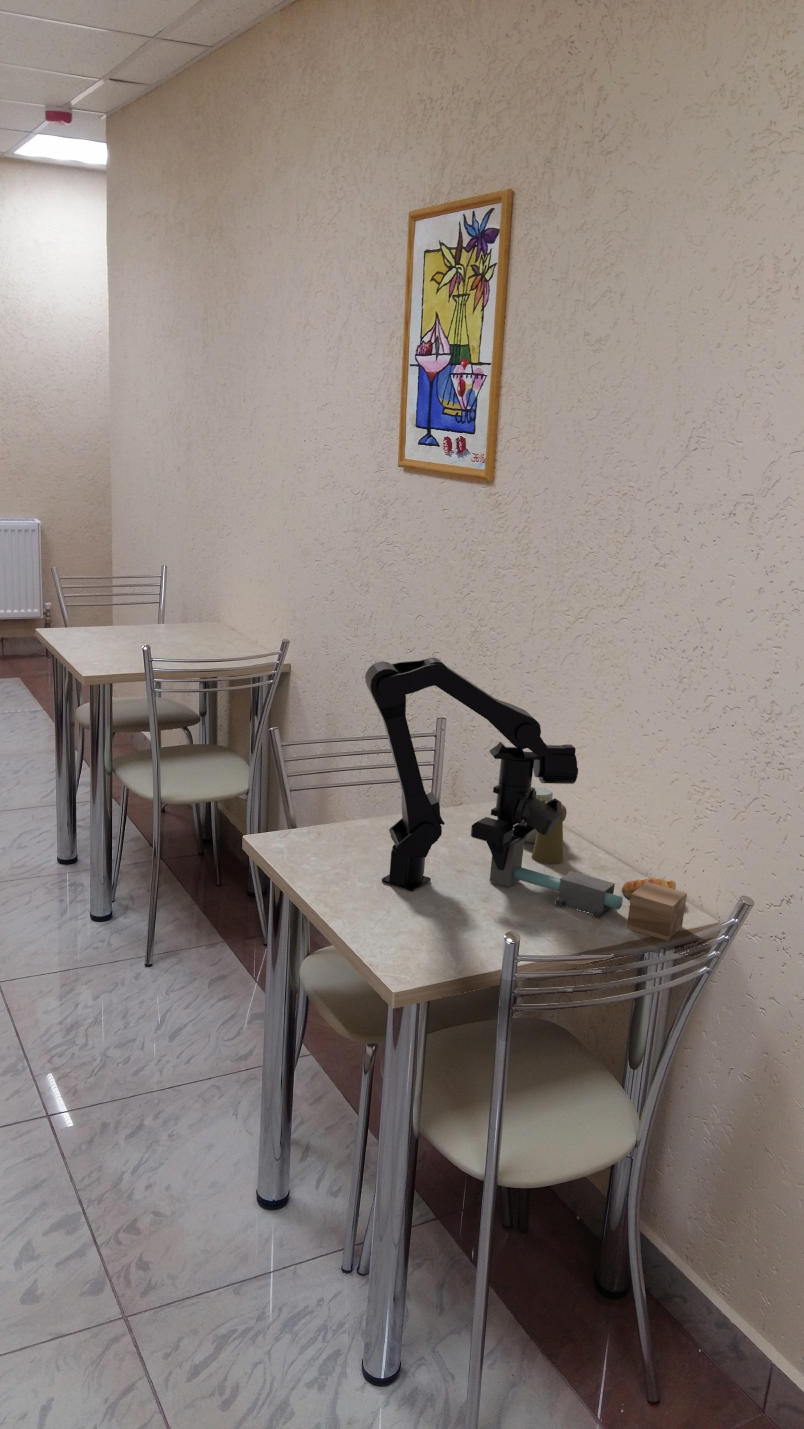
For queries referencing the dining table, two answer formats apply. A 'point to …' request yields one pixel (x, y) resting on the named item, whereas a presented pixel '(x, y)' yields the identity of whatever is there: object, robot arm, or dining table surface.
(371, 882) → the dining table surface
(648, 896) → the socket block
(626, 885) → the pastry
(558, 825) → the cork
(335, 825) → the dining table surface
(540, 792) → the air freshener
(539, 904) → the dining table surface
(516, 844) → the tube
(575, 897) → the sleeve
